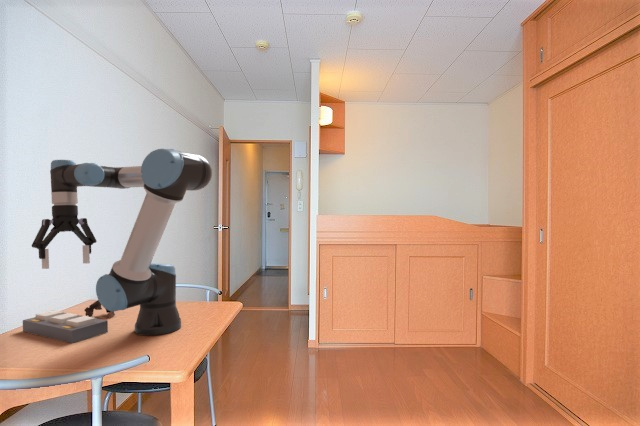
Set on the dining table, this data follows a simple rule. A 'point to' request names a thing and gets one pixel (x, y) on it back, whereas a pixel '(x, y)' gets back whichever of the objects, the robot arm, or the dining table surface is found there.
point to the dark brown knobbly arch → (97, 306)
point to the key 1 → (48, 315)
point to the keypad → (64, 329)
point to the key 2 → (80, 321)
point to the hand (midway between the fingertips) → (66, 265)
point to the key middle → (63, 318)
